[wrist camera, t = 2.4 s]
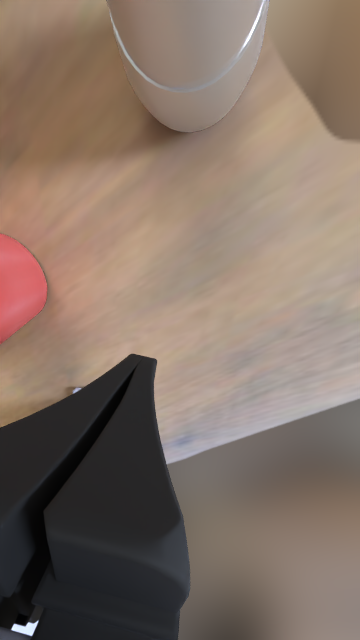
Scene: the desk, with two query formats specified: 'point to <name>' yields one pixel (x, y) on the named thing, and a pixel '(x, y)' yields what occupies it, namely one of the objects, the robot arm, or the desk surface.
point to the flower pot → (19, 287)
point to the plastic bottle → (188, 55)
